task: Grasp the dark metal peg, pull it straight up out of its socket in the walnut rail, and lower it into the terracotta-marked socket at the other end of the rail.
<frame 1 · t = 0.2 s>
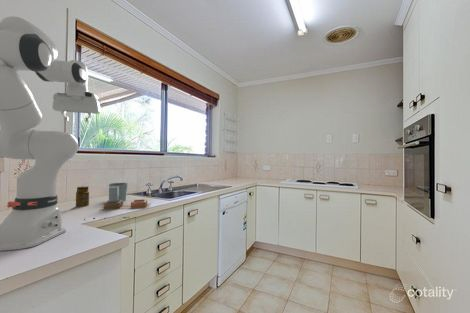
hand: (77, 121, 112), 47 cm above the countertop, fingers open, 8 cm apart
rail: (126, 209, 121), on the countertop
condiment: (82, 209, 121), on the countertop
drinking glass: (118, 202, 137), on the countertop
peg: (113, 207, 120), point 1 cm above the countertop, touching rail
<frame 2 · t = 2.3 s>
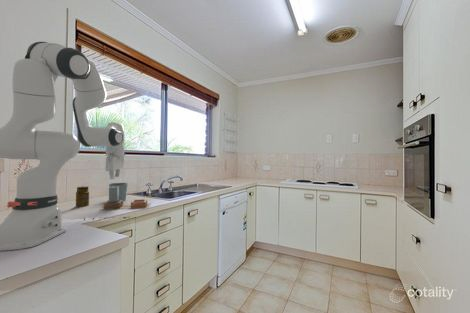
hand: (114, 177, 120), 18 cm above the countertop, fingers open, 8 cm apart
nothing on the countertop moved.
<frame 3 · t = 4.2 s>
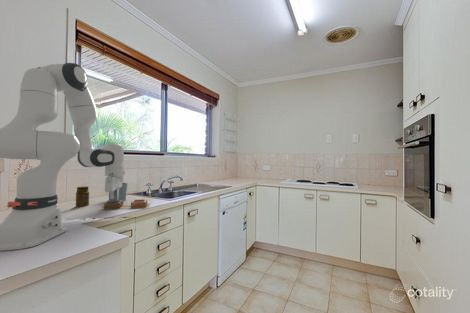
hand: (113, 197, 120), 7 cm above the countertop, fingers closed on peg, 4 cm apart
peg: (113, 207, 120), point 2 cm above the countertop, touching gripper, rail
everything else where it was.
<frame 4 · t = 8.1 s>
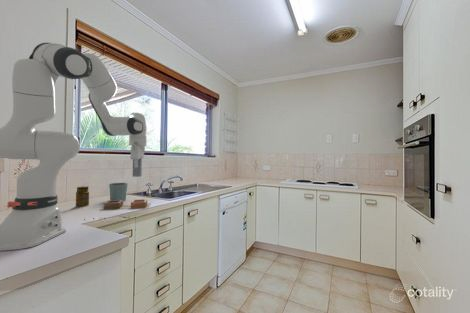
hand: (137, 167, 122), 23 cm above the countertop, fingers closed on peg, 4 cm apart
peg: (137, 176, 122), point 18 cm above the countertop, touching gripper
everything else where it was.
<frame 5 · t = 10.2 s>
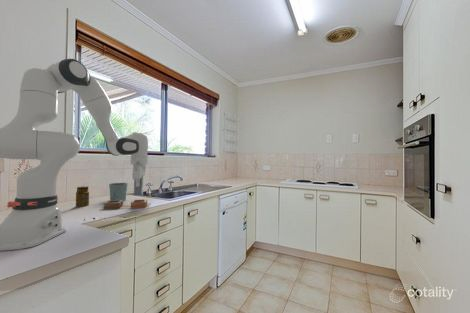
hand: (138, 185, 123), 13 cm above the countertop, fingers closed on peg, 4 cm apart
peg: (138, 194, 123), point 8 cm above the countertop, touching gripper
everything else where it was.
when the fingers open (8 cm above the countertop, at t = 12.0 s): peg stays where it is, resting on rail.
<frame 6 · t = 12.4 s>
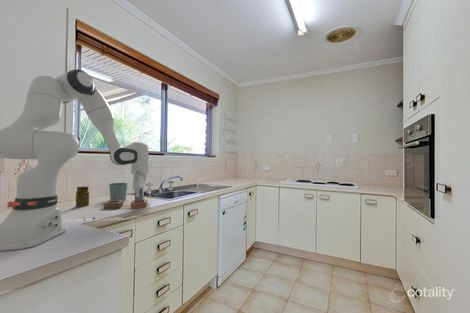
hand: (139, 195, 123), 8 cm above the countertop, fingers open, 8 cm apart
peg: (139, 206, 123), point 1 cm above the countertop, touching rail
everything else where it was.
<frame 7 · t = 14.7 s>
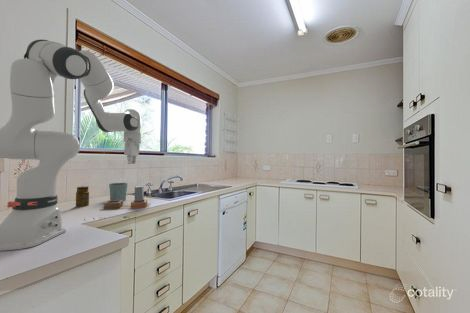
hand: (131, 163, 122), 25 cm above the countertop, fingers open, 8 cm apart
nothing on the countertop moved.
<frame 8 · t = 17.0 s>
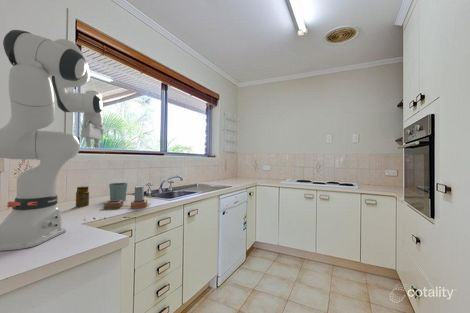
hand: (92, 147, 119), 34 cm above the countertop, fingers open, 8 cm apart
nothing on the countertop moved.
at the end: peg 0.2 cm from the target spot on the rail, point 1.5 cm above the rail's base; peg tilted 0°; the gripper is holding nothing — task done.
